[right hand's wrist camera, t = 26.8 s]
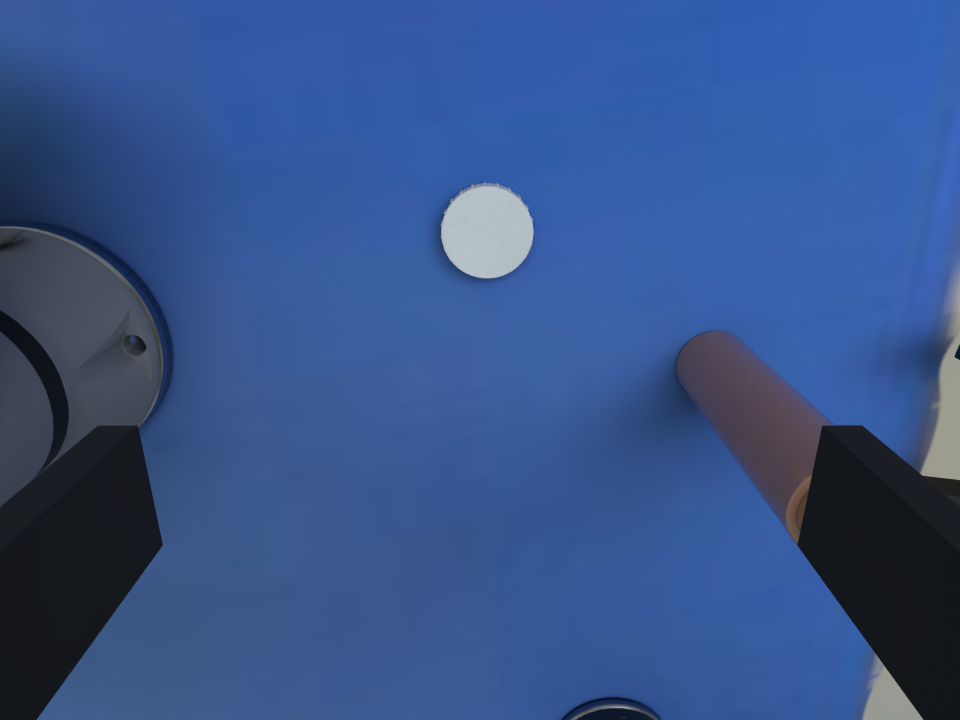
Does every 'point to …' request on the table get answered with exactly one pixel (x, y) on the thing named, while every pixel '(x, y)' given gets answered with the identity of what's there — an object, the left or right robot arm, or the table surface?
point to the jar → (755, 419)
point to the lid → (487, 230)
